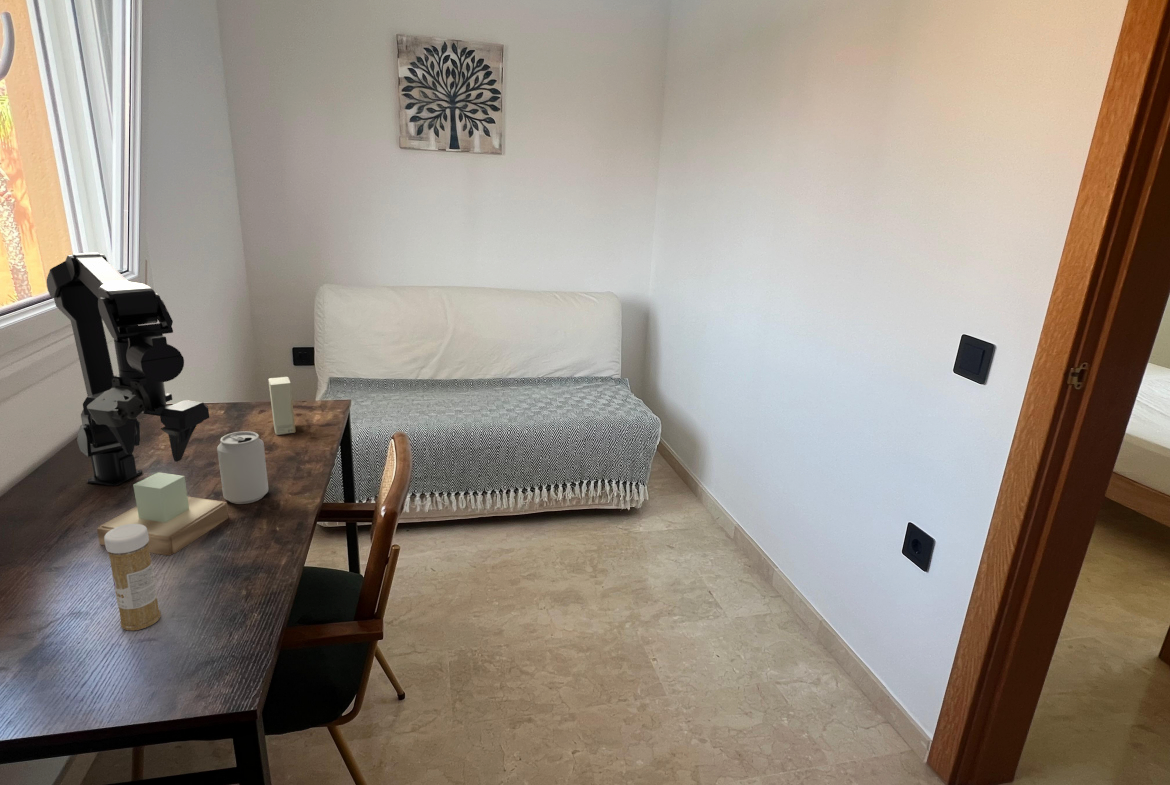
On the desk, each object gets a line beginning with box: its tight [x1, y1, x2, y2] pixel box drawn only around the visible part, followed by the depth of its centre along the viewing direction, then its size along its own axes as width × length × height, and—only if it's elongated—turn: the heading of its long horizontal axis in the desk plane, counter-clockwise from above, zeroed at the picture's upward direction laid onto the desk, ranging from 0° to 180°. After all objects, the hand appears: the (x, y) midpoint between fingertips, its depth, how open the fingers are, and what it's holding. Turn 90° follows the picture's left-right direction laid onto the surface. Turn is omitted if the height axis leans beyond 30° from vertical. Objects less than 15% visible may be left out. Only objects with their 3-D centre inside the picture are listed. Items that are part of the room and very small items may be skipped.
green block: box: [132, 471, 189, 523], centre depth 108 cm, size 5×5×6 cm
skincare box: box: [268, 376, 296, 436], centre depth 153 cm, size 6×4×12 cm
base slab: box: [96, 495, 230, 557], centre depth 109 cm, size 13×13×3 cm
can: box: [216, 430, 269, 505], centre depth 120 cm, size 8×8×12 cm
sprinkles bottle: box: [104, 524, 162, 631], centre depth 85 cm, size 5×5×13 cm
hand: (153, 457), depth 110 cm, fingers open, 9 cm apart
